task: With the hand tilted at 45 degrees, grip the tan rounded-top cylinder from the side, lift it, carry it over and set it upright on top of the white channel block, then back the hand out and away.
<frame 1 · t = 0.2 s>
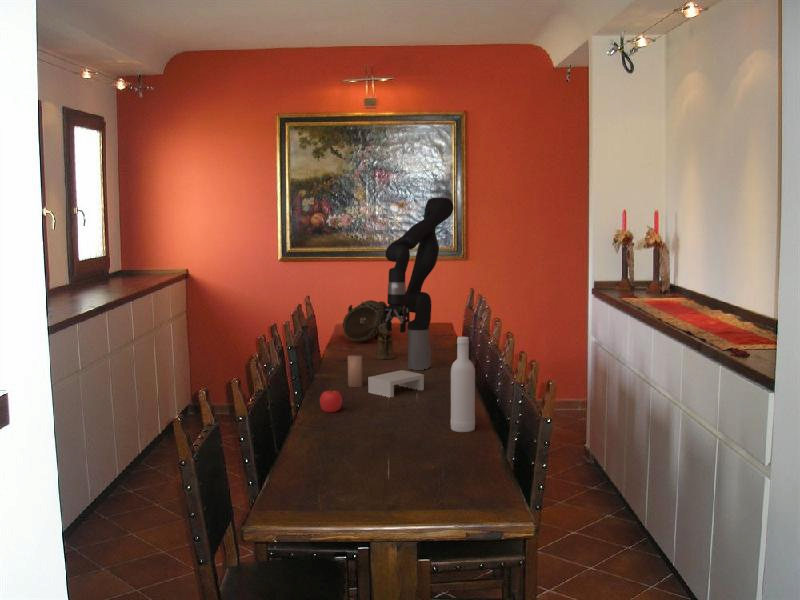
hand: (395, 331, 372), 18 cm above the table, tool pointing down, fingers open, 8 cm apart
apple: (331, 411, 313), on the table
brown carved figurine: (385, 359, 407), on the table
white channel block: (396, 391, 342), on the table
bottle: (462, 429, 288), on the table
tan rounded-top cylinder: (355, 386, 351), on the table
basket: (368, 339, 460), on the table
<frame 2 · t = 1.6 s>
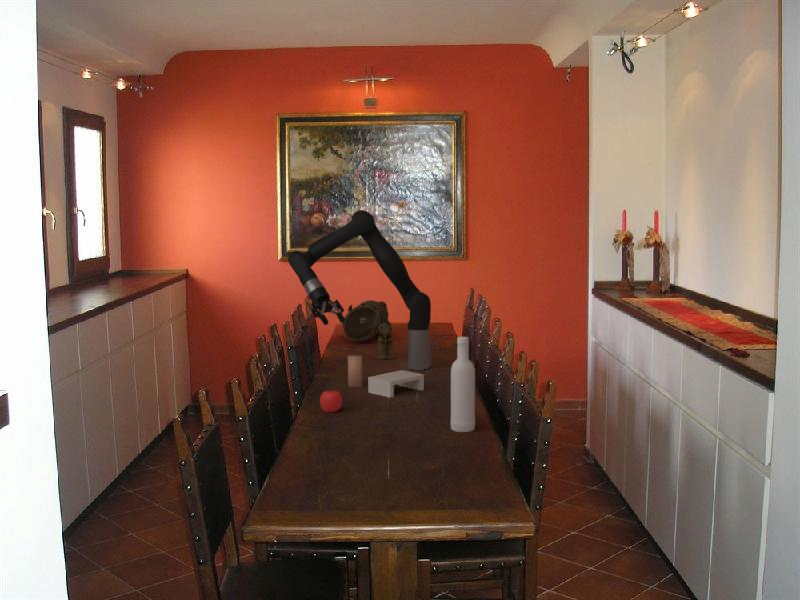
hand: (335, 322, 356), 24 cm above the table, tool tilted 45°, fingers open, 8 cm apart
nothing on the table moved.
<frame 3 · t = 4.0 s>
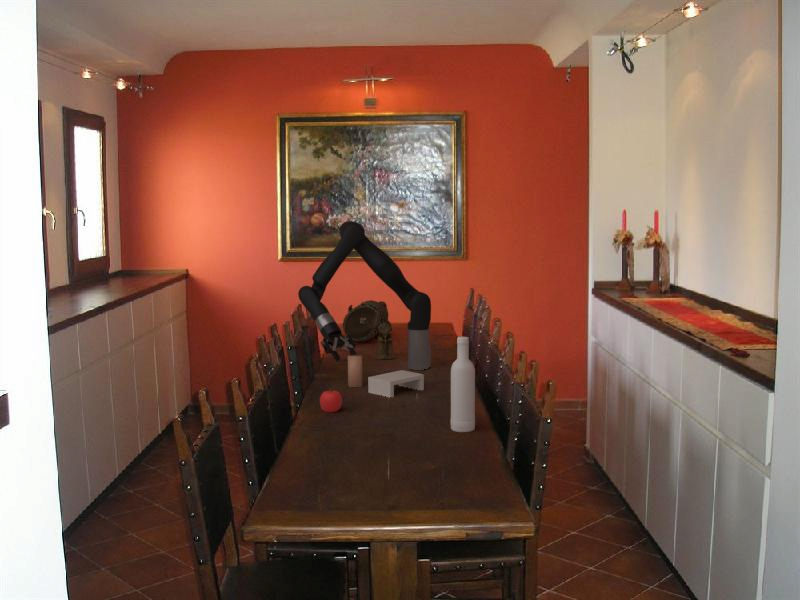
hand: (347, 358, 353), 10 cm above the table, tool tilted 45°, fingers open, 8 cm apart
nothing on the table moved.
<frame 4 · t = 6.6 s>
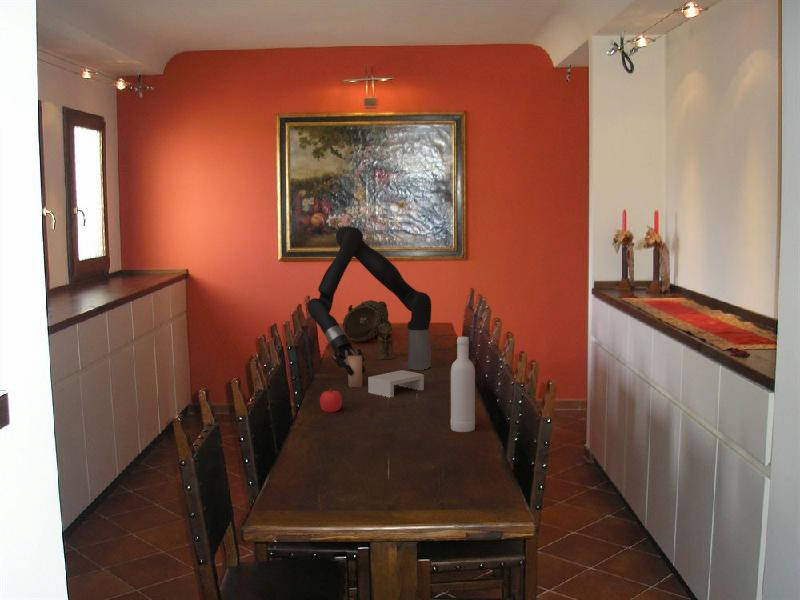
hand: (358, 373, 349), 5 cm above the table, tool tilted 45°, fingers closed on tan rounded-top cylinder, 5 cm apart
tan rounded-top cylinder: (355, 386, 351), on the table, touching gripper
everything else where it was.
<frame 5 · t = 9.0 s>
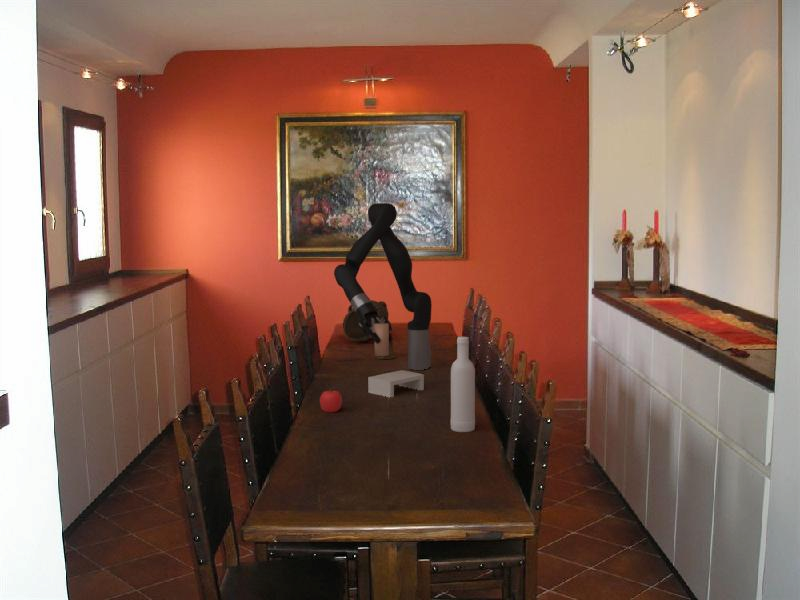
hand: (384, 341, 341), 19 cm above the table, tool tilted 45°, fingers closed on tan rounded-top cylinder, 5 cm apart
tan rounded-top cylinder: (381, 354, 343), point 14 cm above the table, touching gripper
everything else where it was.
when the fingers open (13 cm above the table, at t = 11.7 s): tan rounded-top cylinder drops 1 cm, resting on white channel block.
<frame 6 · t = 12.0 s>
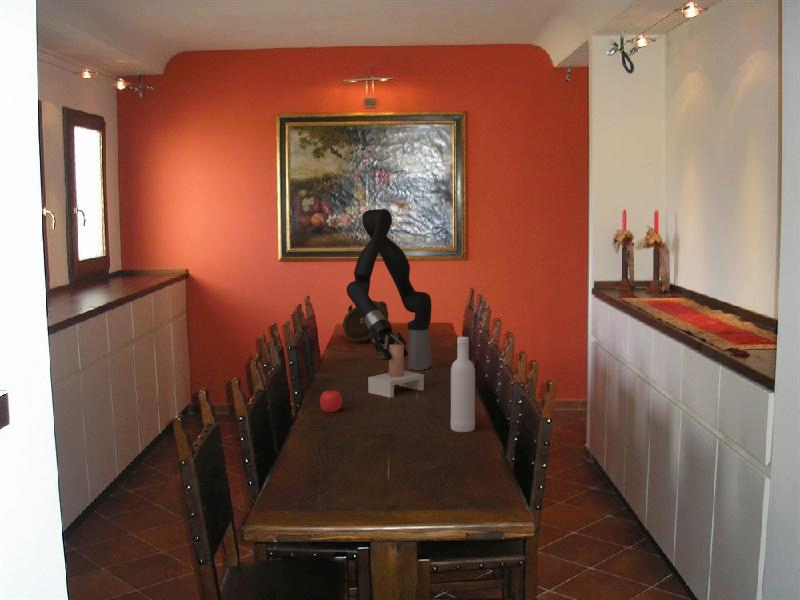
hand: (398, 357, 339), 13 cm above the table, tool tilted 45°, fingers open, 8 cm apart
tan rounded-top cylinder: (396, 375, 341), point 6 cm above the table, touching white channel block
everything else where it was.
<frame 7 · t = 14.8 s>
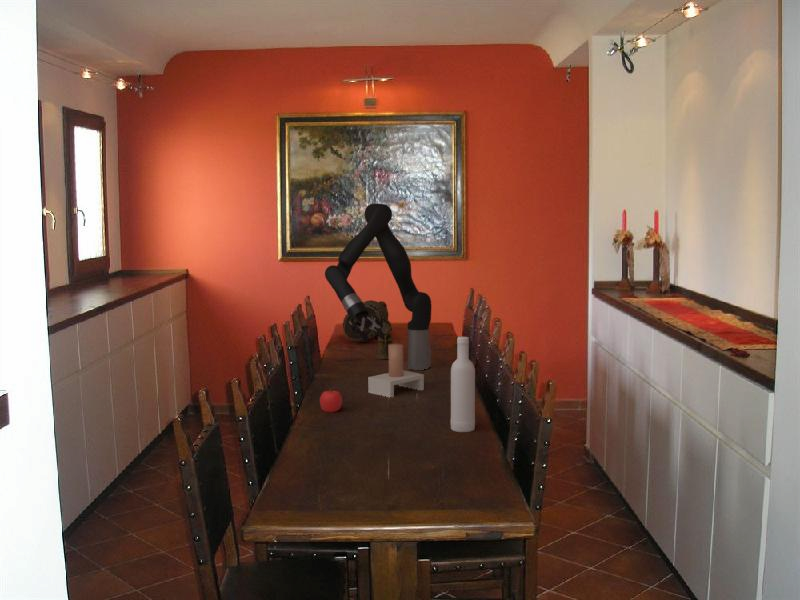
hand: (374, 339, 348), 19 cm above the table, tool tilted 45°, fingers open, 8 cm apart
nothing on the table moved.
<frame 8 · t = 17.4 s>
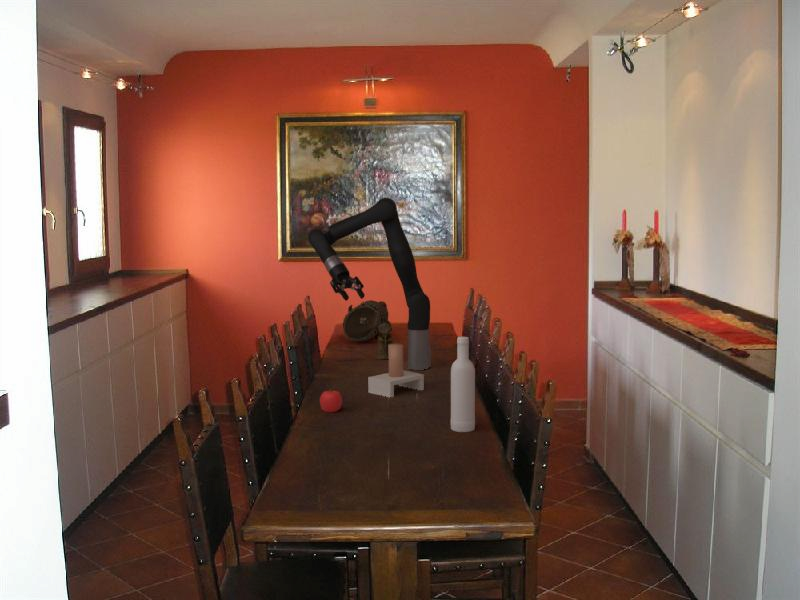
hand: (355, 298, 364), 33 cm above the table, tool tilted 45°, fingers open, 8 cm apart
nothing on the table moved.
at the end: tan rounded-top cylinder inside the target area on the white channel block (0.1 cm from its centre), point 6.0 cm above the white channel block's base; tan rounded-top cylinder tilted 1°; the gripper is holding nothing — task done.
